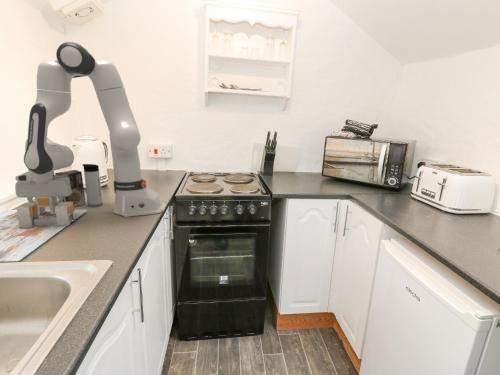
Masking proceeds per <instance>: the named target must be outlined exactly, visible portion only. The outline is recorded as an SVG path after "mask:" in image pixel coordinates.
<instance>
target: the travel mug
mask: <svg viewBox="0 0 500 375" xmlns="http://www.w3.org/2000/svg"><path fill="white" fill-rule="evenodd" d="M82 166H83V175H84V182H85V183H84V184H85V191H86V193H85V194H86V199H87V201H86V202H87V206H88V207H91V208H93V207H94V208H95V207H100V206H102V205H103V197H102V196H103V195H102V186H101V176H100V175H101V174H100V168H99V166H100V165H99V164H94V163H93V164H92V163H82Z"/></svg>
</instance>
